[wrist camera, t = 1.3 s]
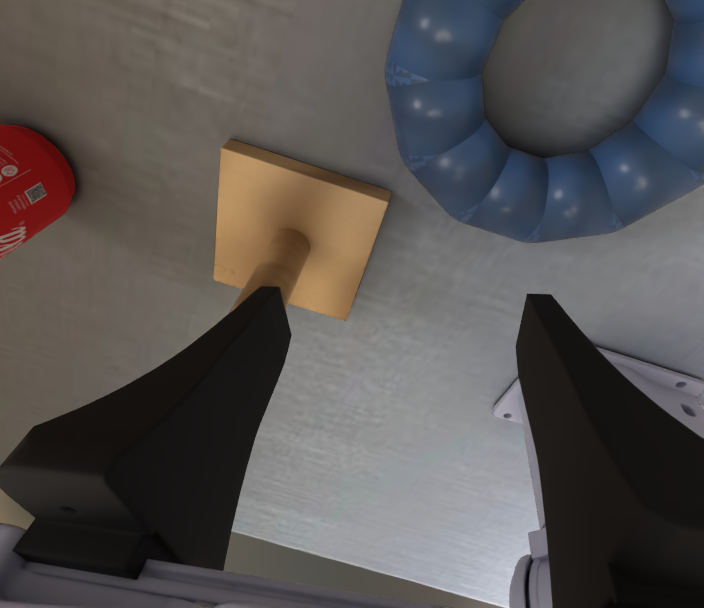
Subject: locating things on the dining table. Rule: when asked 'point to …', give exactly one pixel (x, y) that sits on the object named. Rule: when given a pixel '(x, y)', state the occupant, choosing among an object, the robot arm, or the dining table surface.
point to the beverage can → (30, 185)
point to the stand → (294, 229)
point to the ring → (525, 169)
